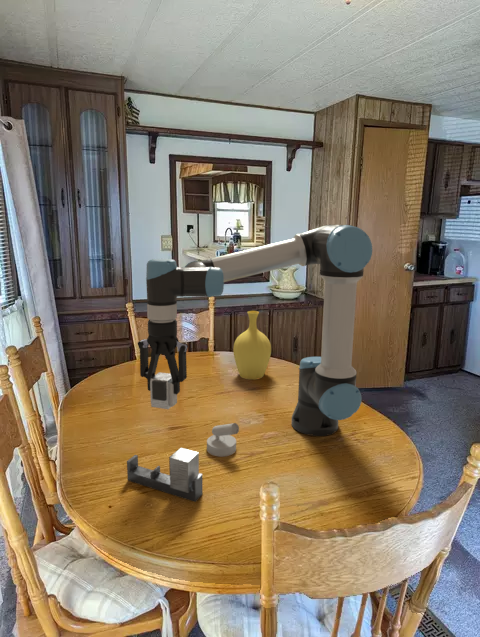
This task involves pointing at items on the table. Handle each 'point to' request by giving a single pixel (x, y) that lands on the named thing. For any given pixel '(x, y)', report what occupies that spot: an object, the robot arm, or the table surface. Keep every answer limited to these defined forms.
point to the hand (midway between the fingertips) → (163, 403)
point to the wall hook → (222, 440)
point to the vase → (252, 350)
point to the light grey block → (161, 390)
